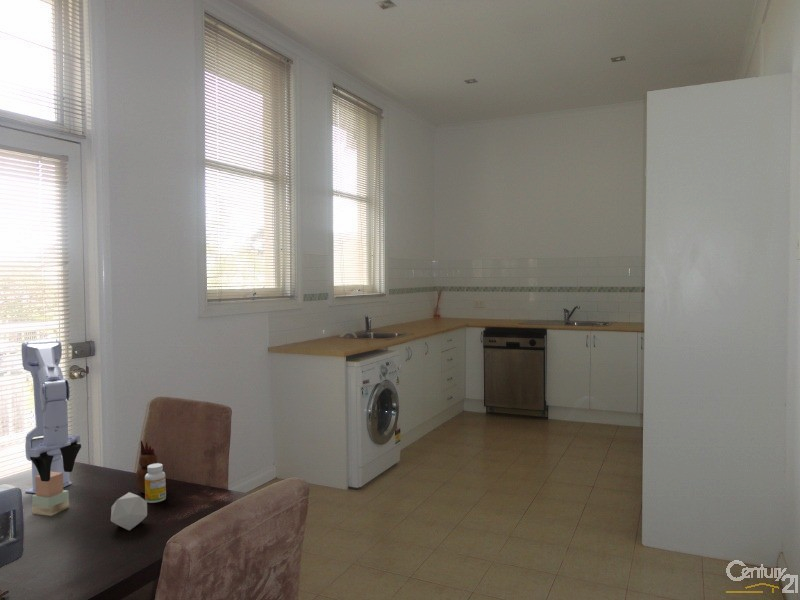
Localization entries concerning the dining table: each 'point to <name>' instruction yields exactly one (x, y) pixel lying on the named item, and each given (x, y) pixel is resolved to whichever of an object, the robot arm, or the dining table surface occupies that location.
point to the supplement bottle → (155, 483)
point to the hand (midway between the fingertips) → (57, 476)
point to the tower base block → (50, 509)
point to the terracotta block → (49, 485)
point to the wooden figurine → (144, 465)
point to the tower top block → (50, 499)
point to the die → (129, 511)
